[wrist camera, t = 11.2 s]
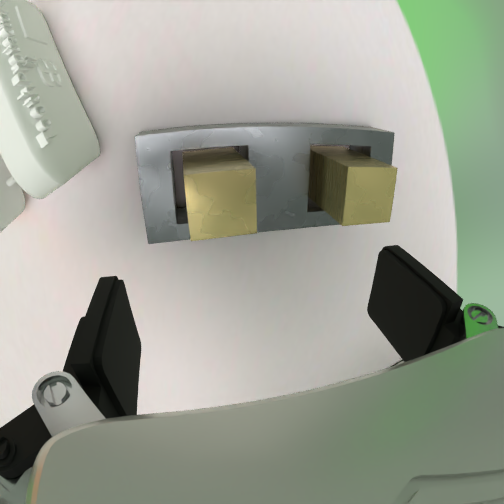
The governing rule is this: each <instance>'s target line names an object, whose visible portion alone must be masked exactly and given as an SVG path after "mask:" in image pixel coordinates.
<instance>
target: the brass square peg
mask: <svg viewBox="0 0 504 504" xmlns="http://www.w3.org/2000/svg"><path fill="white" fill-rule="evenodd" d="M182 154H183V175H184V185H185V195H186V205H187V214H188V223H189V231H190V239H191V241H196V240H204V239H212V238H221V237H229V236H237V235H246V234H254V233H257V211H256V168H255V167H254V166H252V165H251V164H250V163H249V162H248V161H247V160H246V159H245V158H244V157H243V156H242V155H241V154H239V153H238V152H237V151H236V150H235V149H234V148H233V147H229V148H217V149H205V150H195V151H186V152H182Z"/></svg>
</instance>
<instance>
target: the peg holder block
mask: <svg viewBox="0 0 504 504" xmlns="http://www.w3.org/2000/svg"><path fill="white" fill-rule="evenodd" d="M393 143H394V133H393V132H389V131H385V130H382V129H377V128H373V127H365V126H353V125H338V124H318V123H236V124H215V125H200V126H188V127H177V128H167V129H158V130H150V131H142V132H140V133H139V134H137V135H136V136H135V144H136V155H137V165H138V174H139V182H140V190H141V198H142V205H143V212H144V219H145V226H146V232H147V238H148V244H152V243H161V242H170V241H179V240H188V239H190V231H189V223H188V214H187V207H185V208H177V206H176V196H175V185H174V174H173V162H172V151H176V150H186V149H197V148H210V147H225V146H240V154H241V155H242V156H243V157H244V158H245V159H246V160H247V161H248V162H249V163H250V164H251V165H252V166H254V167H255V168H256V211H257V232H264V231H275V230H285V229H295V228H306V227H317V226H328V225H340V224H341V225H342V226H348V225H359V224H371V223H383V222H390V216H391V210H392V204H393V197H394V190H395V183H396V175H397V168H396V167H394V166H391V163H392V154H393ZM310 144H331V145H350V149H348V148H346V147H341V146H310Z"/></svg>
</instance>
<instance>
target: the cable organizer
mask: <svg viewBox="0 0 504 504" xmlns="http://www.w3.org/2000/svg"><path fill="white" fill-rule="evenodd" d="M99 155H100V147H99V143H98V139H97V136H96V134H95V131H94V129H93V127H92V125H91V123H90V121H89V119H88V117H87V115H86V113H85V110H84V108H83V106H82V104H81V102H80V100H79V98H78V96H77V93H76V91H75V89H74V87H73V85H72V82H71V80H70V78H69V76H68V73H67V71H66V69H65V67H64V64H63V62H62V60H61V57H60V55H59V52H58V50H57V48H56V45H55V43H54V40H53V38H52V35H51V33H50V30H49V27H48V25H47V23H46V21H45V19H44V17H43V15H42V13H41V12H40V11H39V9H38V8H37V7H36V6H35V5H33V4H32V3H30V2H28V1H26V0H0V233H1V232H2V231H3V230H4V229H5V228H6V227H7V226H8V225H9V224H10V223H11V222H12V221H13V220H14V219H15V218H16V217H18V216H19V215H20V214H21V213H22V212H23V211H24V208H25V198H24V194H23V191H22V189H23V190H24V191H25V192H26V193H28V194H29V195H30V196H32V197H34V198H37V199H43V198H45V197H46V196H47V195H49V194H50V193H52V192H53V191H55V190H56V189H57V188H59V187H60V186H62V185H63V184H65V183H66V182H67V181H68V180H70V179H71V178H72V177H73V176H74V175H76V174H77V173H78V172H79V171H81V170H82V169H83V168H84V167H86V166H87V165H88V164H90V163H91V162H92V161H93V160H95V159H96V158H97V157H99Z"/></svg>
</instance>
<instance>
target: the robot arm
mask: <svg viewBox="0 0 504 504" xmlns="http://www.w3.org/2000/svg"><path fill="white" fill-rule="evenodd" d="M462 301H463V299H462V298H461V297H460V296H459V295H457V294H456V293H455V292H454V291H453V290H452V289H451V288H449V287H448V286H447V285H446V284H445V283H444V282H443V281H441V280H440V279H439V278H438V277H437V276H435V275H434V274H433V273H432V272H431V271H429V270H428V269H427V268H426V267H425V266H423V265H422V264H421V263H420V262H419V261H417V260H416V259H415V258H414V257H412V256H411V255H410V254H409V253H407V252H406V251H405V250H404V249H402V248H401V247H400V246H398V245H393V246H385V247H383V249H382V251H380V252H379V255H378V260H377V266H376V271H375V276H374V280H373V285H372V290H371V294H370V299H369V303H368V308H367V311H368V314H369V316H370V318H371V319H372V320H373V321H374V323H375V324H376V325H377V326H378V328H379V329H380V330H381V332H382V333H383V334H384V336H385V337H386V338H387V339H388V341H389V342H390V343H391V345H392V346H393V347H394V349H395V350H396V351H397V353H398V354H399V355H400V357H401V358H402V359H403V361H401V362H399V363H398V364H396V365H395V366H392V367H389V368H386V369H383V370H380V371H377V372H374V373H370V374H367V375H364V376H360V377H357V378H353V379H350V380H346V381H343V382H339V383H335V384H331V385H327V386H323V387H319V388H315V389H311V390H306V391H302V392H297V393H293V394H288V395H283V396H279V397H273V398H268V399H263V400H257V401H251V402H245V403H239V404H232V405H225V406H218V407H210V408H202V409H194V410H185V411H176V412H165V413H152V414H142V415H137V397H138V382H139V369H140V357H141V342H140V338H139V335H138V331H137V328H136V325H135V321H134V318H133V314H132V311H131V307H130V304H129V300H128V296H127V292H126V288H125V284H124V281H123V280H118V278H117V276H110V277H101V278H100V279H99V282H98V284H97V287H96V289H95V292H94V294H93V297H92V300H91V302H90V305H89V308H88V310H87V313H86V316H85V317H82V318H81V319H80V321H79V324H78V326H77V329H76V332H75V335H74V338H73V341H72V344H71V347H70V350H69V353H68V356H67V359H66V362H65V366H64V369H63V372H62V371H56V372H51V373H49V374H46V375H44V376H43V377H42V378H40V379H39V380H38V382H37V383H36V384H35V386H34V388H33V391H32V399H33V402H34V405H33V406H31V407H30V408H28V409H27V410H25V411H24V412H23V413H21V414H20V415H18V416H17V417H15V418H14V419H13V420H11V421H10V422H8V423H7V424H5V425H4V426H3V427H1V428H0V504H504V327H502V326H498V324H497V320H496V317H495V315H494V314H493V312H492V311H491V310H490V309H488V308H487V307H485V306H483V305H480V304H476V303H471V304H467V305H466V306H465V307H464V309H463V311H462V310H461V309H460V307H461V304H462Z"/></svg>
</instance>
